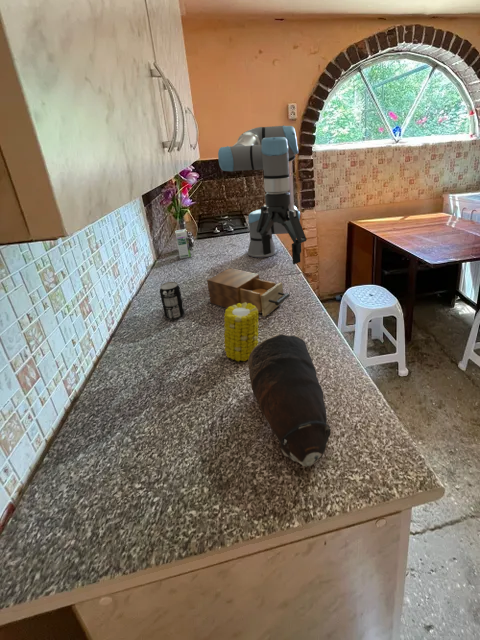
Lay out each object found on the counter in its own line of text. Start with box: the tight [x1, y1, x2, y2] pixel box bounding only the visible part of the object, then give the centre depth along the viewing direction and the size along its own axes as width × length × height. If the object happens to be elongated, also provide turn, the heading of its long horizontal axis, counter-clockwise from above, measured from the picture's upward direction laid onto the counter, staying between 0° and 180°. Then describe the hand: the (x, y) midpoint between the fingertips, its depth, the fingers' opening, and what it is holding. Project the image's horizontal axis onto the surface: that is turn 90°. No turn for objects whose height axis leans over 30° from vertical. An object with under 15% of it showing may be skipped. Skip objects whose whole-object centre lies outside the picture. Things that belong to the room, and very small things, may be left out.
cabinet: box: [206, 267, 260, 309], centre depth 117 cm, size 15×13×10 cm
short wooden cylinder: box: [253, 289, 267, 306], centre depth 112 cm, size 6×6×4 cm
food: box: [223, 302, 260, 362], centre depth 87 cm, size 15×12×10 cm
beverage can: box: [159, 281, 185, 321], centre depth 108 cm, size 7×7×12 cm
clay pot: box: [247, 333, 332, 467], centre depth 64 cm, size 15×15×25 cm
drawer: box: [239, 278, 291, 318], centre depth 110 cm, size 18×11×8 cm, turn 58°
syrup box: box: [174, 228, 192, 260], centre depth 166 cm, size 6×6×14 cm
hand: (281, 258), depth 100 cm, fingers open, 13 cm apart
